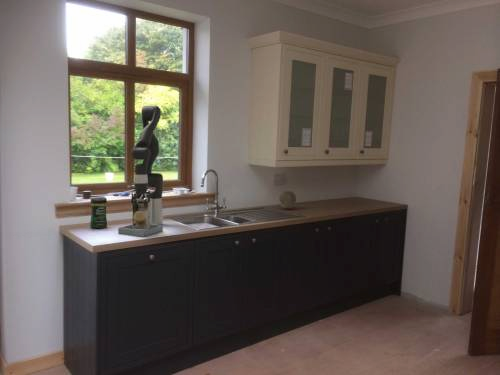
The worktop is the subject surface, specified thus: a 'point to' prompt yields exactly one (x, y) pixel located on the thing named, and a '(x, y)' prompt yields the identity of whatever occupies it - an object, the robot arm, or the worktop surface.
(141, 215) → the coffee box
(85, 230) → the worktop surface
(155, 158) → the robot arm
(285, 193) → the cantaloupe
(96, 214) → the coffee jar
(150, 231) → the tray
